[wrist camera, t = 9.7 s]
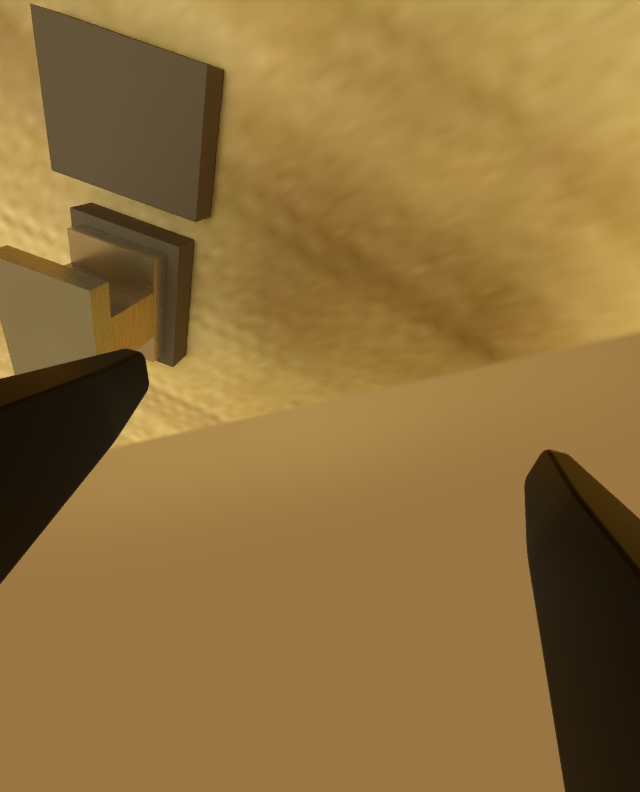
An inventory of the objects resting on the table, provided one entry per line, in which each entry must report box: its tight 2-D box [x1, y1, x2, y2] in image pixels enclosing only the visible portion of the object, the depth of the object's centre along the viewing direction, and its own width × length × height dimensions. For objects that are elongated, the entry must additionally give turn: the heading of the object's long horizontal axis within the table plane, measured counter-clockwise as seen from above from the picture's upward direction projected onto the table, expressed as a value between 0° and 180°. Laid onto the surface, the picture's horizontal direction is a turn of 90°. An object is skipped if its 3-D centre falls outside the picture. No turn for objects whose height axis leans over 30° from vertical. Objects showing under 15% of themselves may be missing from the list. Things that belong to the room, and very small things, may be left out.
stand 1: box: [30, 4, 224, 222], centre depth 17 cm, size 6×7×2 cm
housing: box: [0, 224, 167, 375], centre depth 19 cm, size 4×6×6 cm
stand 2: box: [70, 203, 194, 367], centre depth 22 cm, size 7×6×2 cm
